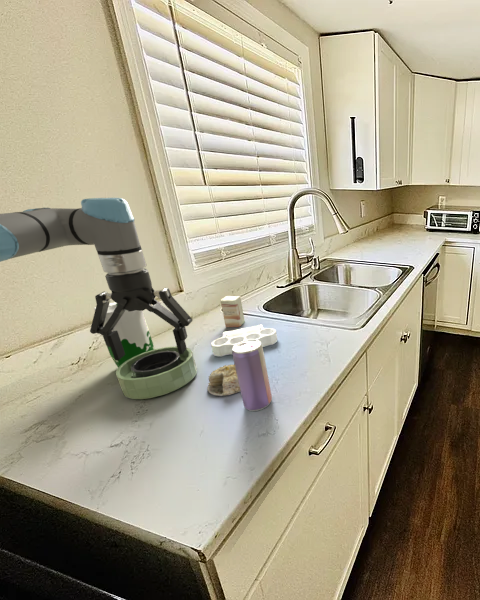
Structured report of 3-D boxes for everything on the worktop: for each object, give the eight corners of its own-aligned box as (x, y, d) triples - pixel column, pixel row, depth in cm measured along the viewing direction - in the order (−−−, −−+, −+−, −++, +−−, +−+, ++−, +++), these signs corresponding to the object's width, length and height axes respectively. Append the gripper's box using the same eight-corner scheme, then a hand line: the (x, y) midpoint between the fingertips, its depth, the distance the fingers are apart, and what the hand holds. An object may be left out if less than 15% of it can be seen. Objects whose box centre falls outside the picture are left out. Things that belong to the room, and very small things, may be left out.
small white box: (225, 327, 112) (219, 300, 109) (231, 322, 116) (225, 295, 113) (240, 327, 112) (234, 300, 109) (245, 321, 116) (240, 295, 113)
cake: (234, 371, 88) (231, 353, 86) (260, 381, 83) (259, 362, 82) (198, 389, 79) (194, 369, 77) (225, 401, 75) (223, 380, 73)
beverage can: (259, 415, 71) (247, 354, 65) (238, 408, 73) (224, 349, 67) (277, 398, 76) (267, 341, 70) (257, 393, 78) (246, 337, 72)
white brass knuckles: (272, 328, 111) (280, 347, 99) (213, 341, 103) (213, 363, 91) (271, 319, 109) (279, 337, 97) (210, 331, 101) (210, 352, 89)
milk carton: (163, 363, 91) (142, 296, 84) (123, 378, 84) (97, 307, 77) (150, 354, 96) (129, 290, 88) (112, 368, 89) (86, 300, 82)
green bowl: (106, 398, 76) (97, 377, 74) (160, 363, 91) (154, 344, 88) (165, 404, 74) (158, 382, 72) (210, 367, 89) (205, 347, 87)
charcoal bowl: (127, 389, 78) (120, 370, 77) (160, 367, 88) (155, 349, 86) (163, 393, 77) (156, 373, 75) (193, 370, 86) (188, 352, 84)
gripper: (46, 279, 66) (82, 368, 74) (182, 272, 71) (202, 356, 79) (72, 269, 73) (102, 352, 81) (194, 263, 78) (212, 342, 86)
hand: (152, 354), depth 80 cm, fingers open, 13 cm apart
